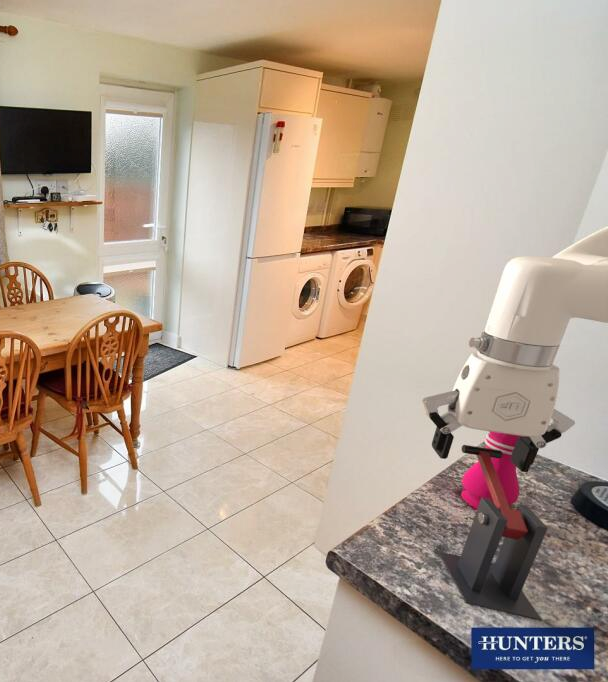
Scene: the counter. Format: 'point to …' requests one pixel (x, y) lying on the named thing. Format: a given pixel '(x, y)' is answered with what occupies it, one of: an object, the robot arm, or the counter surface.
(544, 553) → the counter surface
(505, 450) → the pepper mill
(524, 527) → the switch lever
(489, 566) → the switch bracket
